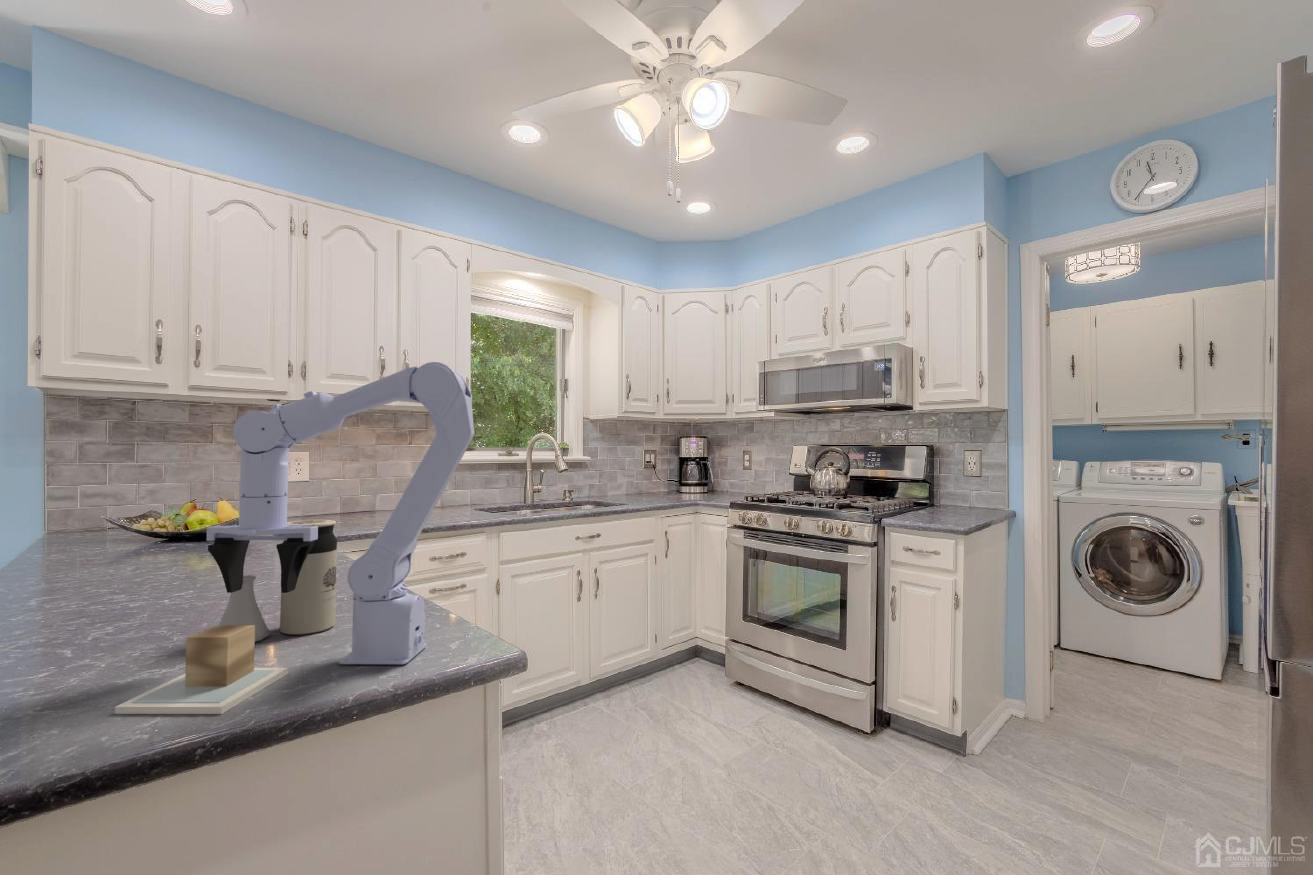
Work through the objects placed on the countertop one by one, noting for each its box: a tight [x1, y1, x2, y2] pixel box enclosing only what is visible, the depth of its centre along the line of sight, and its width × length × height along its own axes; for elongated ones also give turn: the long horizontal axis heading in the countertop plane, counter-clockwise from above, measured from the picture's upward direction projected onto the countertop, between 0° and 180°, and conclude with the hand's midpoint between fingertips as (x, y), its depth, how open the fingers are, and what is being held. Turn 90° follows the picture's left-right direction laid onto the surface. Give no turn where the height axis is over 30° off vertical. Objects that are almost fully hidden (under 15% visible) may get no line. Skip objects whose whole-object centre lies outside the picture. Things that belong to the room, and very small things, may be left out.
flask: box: [218, 574, 271, 642], centre depth 91 cm, size 7×7×10 cm
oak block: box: [184, 624, 256, 687], centre depth 73 cm, size 5×5×6 cm
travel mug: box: [279, 519, 338, 636], centre depth 97 cm, size 8×8×18 cm
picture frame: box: [114, 667, 289, 715], centre depth 71 cm, size 12×12×1 cm
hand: (261, 591), depth 82 cm, fingers open, 7 cm apart
